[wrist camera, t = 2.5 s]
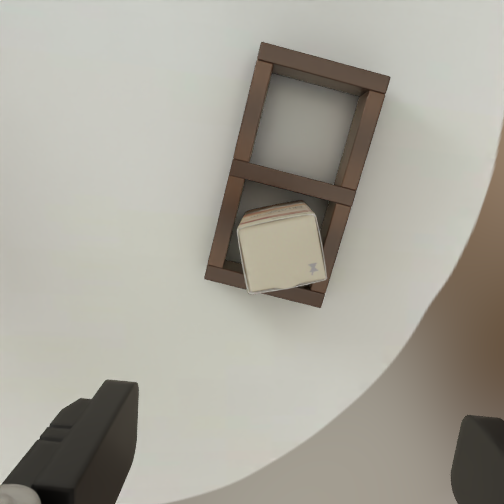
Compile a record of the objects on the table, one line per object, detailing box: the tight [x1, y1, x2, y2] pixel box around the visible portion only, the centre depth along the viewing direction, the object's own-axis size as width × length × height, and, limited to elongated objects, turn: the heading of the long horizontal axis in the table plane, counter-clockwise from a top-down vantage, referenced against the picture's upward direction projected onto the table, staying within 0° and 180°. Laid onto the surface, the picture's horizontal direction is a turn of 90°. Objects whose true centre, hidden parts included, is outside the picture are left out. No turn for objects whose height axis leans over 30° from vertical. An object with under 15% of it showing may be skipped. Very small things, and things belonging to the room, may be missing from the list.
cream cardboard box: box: [237, 200, 327, 294], centre depth 31 cm, size 5×4×10 cm
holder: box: [204, 42, 390, 308], centre depth 33 cm, size 18×9×3 cm, turn 166°
